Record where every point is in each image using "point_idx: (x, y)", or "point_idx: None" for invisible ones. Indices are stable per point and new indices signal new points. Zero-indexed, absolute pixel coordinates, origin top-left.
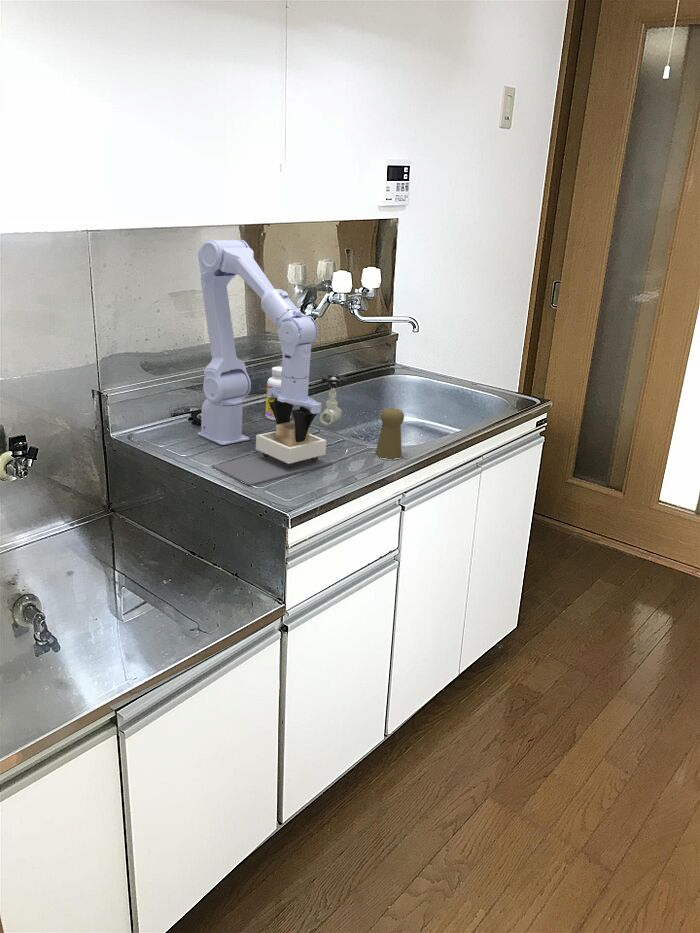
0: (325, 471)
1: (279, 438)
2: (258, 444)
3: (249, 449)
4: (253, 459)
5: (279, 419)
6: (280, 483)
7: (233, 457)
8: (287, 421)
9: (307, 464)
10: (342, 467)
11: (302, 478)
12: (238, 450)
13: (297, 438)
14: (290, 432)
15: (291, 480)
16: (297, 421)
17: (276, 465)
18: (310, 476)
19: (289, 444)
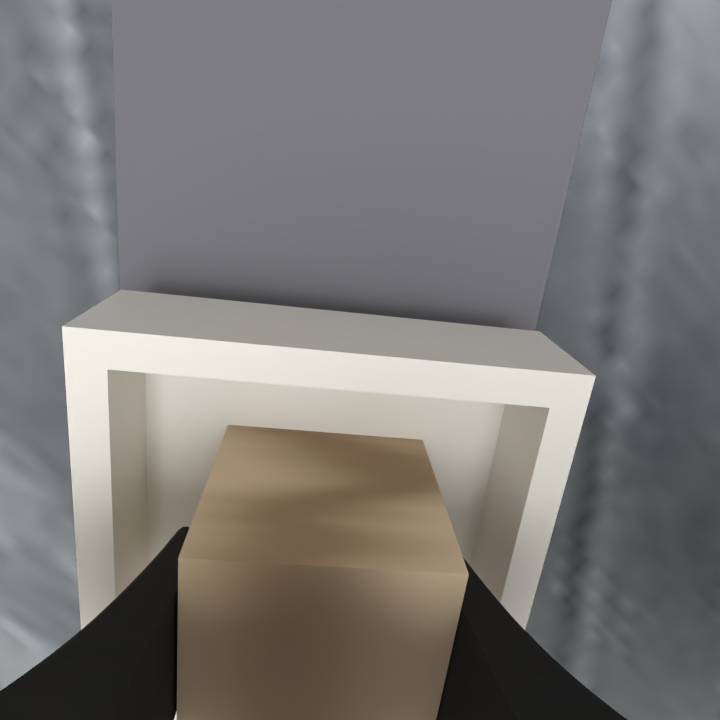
0: (61, 503)
1: (382, 483)
2: (527, 345)
3: (663, 421)
4: (500, 273)
5: (477, 660)
6: (36, 83)
7: (655, 222)
8: (444, 716)
9: None
10: (61, 618)
11: (35, 297)
12: (709, 352)
13: (168, 545)
14: (212, 542)
15: (44, 203)
16: (39, 694)
17: None
18: (38, 368)
19: (237, 463)
